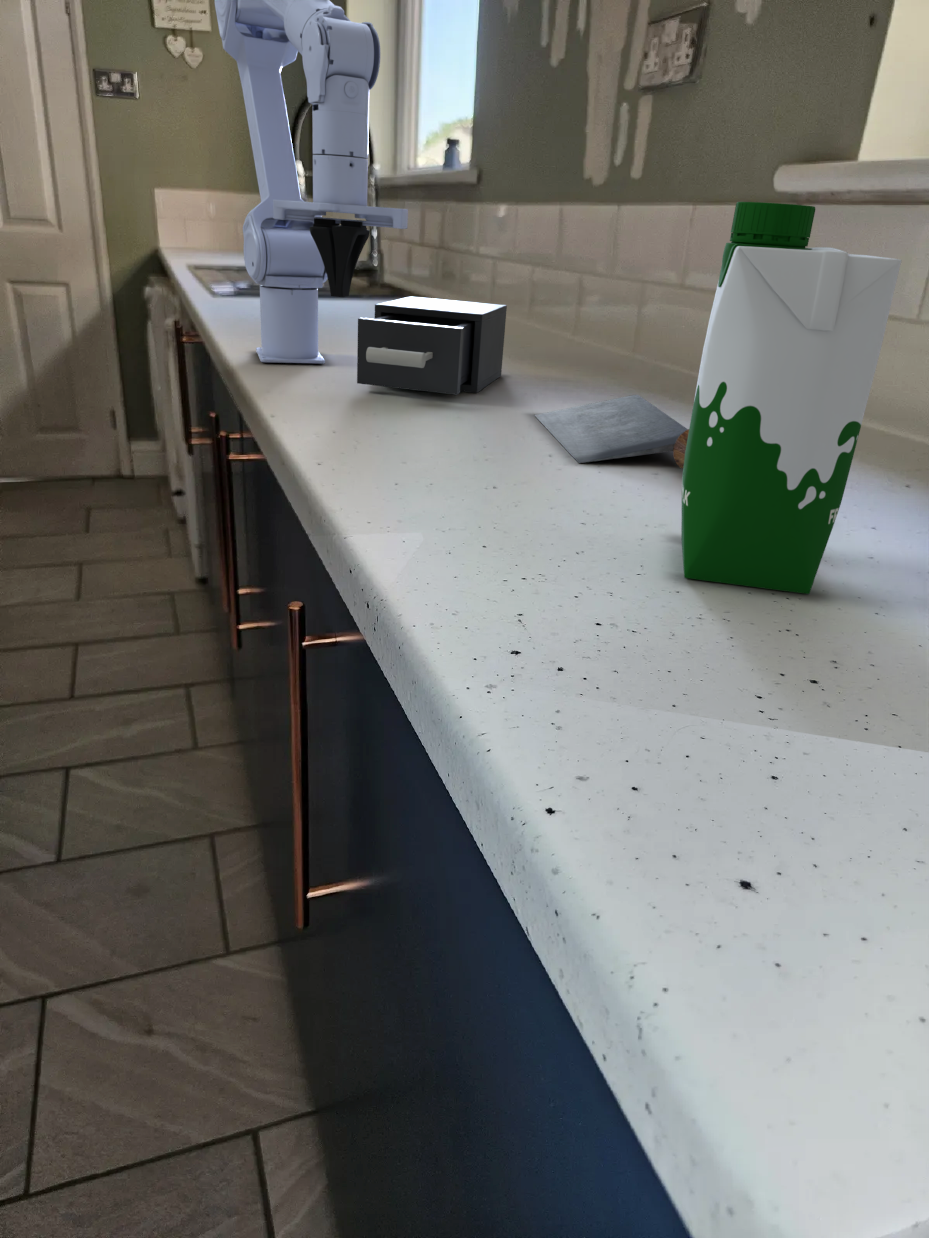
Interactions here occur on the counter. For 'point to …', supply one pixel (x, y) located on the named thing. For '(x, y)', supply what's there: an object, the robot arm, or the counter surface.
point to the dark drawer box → (415, 352)
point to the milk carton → (779, 399)
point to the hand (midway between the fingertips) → (339, 296)
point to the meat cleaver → (616, 430)
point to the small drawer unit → (485, 333)
